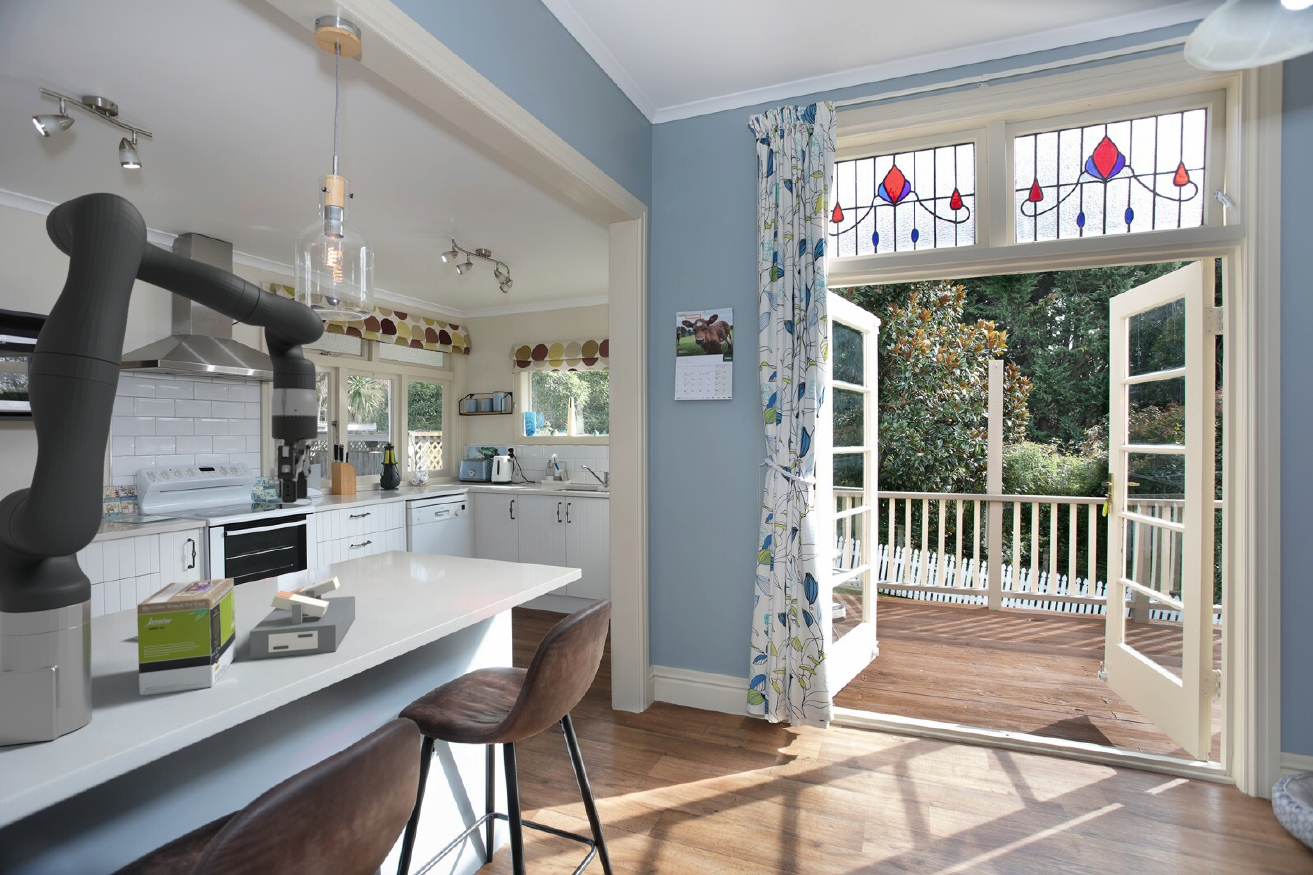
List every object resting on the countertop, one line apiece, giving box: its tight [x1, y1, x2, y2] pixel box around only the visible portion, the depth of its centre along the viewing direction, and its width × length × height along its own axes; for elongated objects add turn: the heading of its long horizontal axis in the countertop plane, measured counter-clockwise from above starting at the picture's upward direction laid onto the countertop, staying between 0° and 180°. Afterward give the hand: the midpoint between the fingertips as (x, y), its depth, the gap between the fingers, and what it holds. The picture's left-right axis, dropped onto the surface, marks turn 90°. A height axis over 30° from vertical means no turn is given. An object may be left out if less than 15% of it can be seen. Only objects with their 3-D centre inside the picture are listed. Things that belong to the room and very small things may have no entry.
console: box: [249, 582, 356, 660], centre depth 128 cm, size 22×14×9 cm, turn 17°
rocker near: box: [270, 590, 329, 617], centre depth 123 cm, size 5×9×2 cm, turn 107°
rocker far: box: [290, 575, 341, 597], centre depth 133 cm, size 5×9×2 cm, turn 107°
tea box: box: [136, 577, 237, 697], centre depth 108 cm, size 15×10×15 cm, turn 21°
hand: (295, 500), depth 120 cm, fingers open, 8 cm apart
